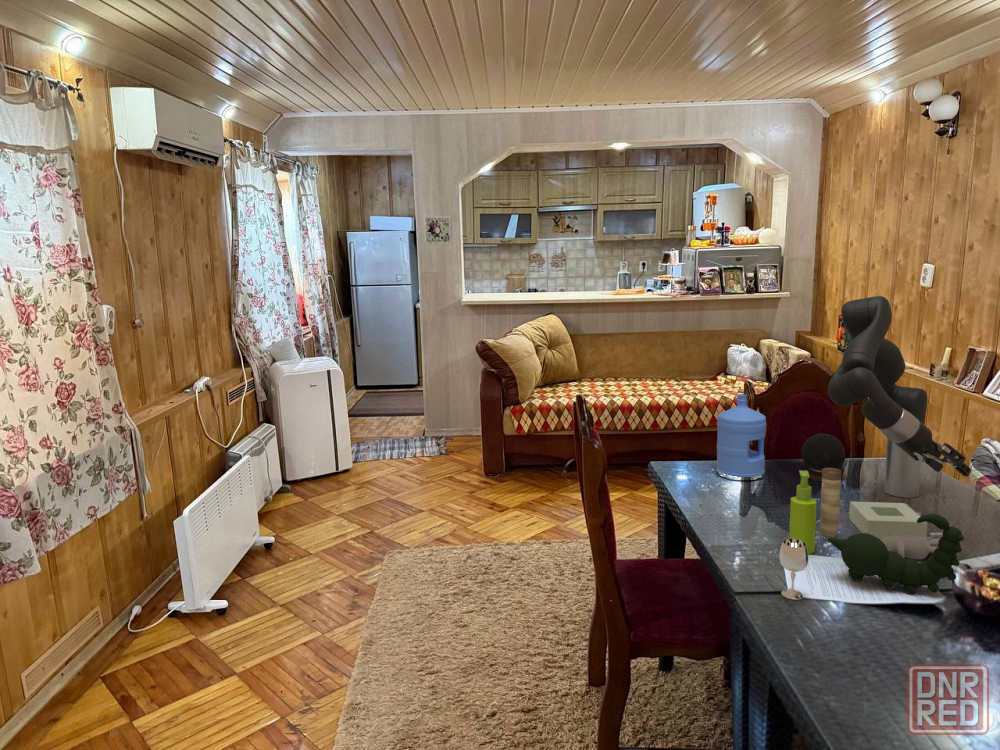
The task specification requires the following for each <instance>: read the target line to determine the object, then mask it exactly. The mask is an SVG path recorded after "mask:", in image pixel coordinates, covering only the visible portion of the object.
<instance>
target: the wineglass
mask: <svg viewBox="0 0 1000 750" xmlns="http://www.w3.org/2000/svg"><path fill="white" fill-rule="evenodd" d="M778 558H779V563H780V565H781V567H783V568H784V569H786V570H787V571H789V572H790V579H791V587H790V588H789V589H787V588H786V589H783V590H782V591H781V593H780V594H781V595H782V596H783V597H784V598H787V599H789V600H794V601H795V600H802V599H803V598H804V593H802V592H800V591H798V590H796V589H795V579H796V575H797V574H796V573H799V572H801V571H804V570H805V569H806V568H807V567H808V565H809V554H808V550H807V546H806V543H805V542H803V541H801V540H798V539H789V538H785V539H783V540H782V543H781V546H780V548H779V557H778Z"/></svg>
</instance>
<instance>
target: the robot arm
mask: <svg viewBox="0 0 1000 750" xmlns="http://www.w3.org/2000/svg"><path fill="white" fill-rule="evenodd" d="M840 314H841V318H842V323H843V325H844V327H845V329H846V331H847V333H848V335H849V336H850V337H851V338H852V340H850V342H849V343H848V344H847V345H846V347H845V349H844V352H843V354H842V359H841V364H840V365H839V366H838V368H837V369H836V370H835V371H834V373H833V375H832V377H831V378H830V380H829V382H828V386H827V389H828V395H829V398H830V399H831V401H832V402H833V403H834V404H835V405H838V406H840V407H849V406H852V405H854V404H855V403H858V402H859V401H862V400H863V399H865V398H868V399H867V400H866V401H865V402H864V403H863V405H862V407H861V414H862V415H863V417H865V419H866V420H868V421H869V422H870V423H871V424H872V425H873V426H875V427H876V428H877V429H878V430H879V431H880V432H881V433H882V434H883V435H884V436H886V438H887V439H886V453H885V454H886V455H885V456H886V457H885V470H884V472H885V473H884V486H883V487H884V488H883V492H884V493H885V494H888V495H890V496H894V497H897V498H904V499H905V498H906V499H907V498H908V499H911V498H917V497H919V495H920V484H921V470H922V463H923V464H926V465H927V466H928V467H930V469H932V470H933V471H934V472H937V473H940V472H941V470H942V469H943V468H944V465H943V464H946V465H949V466H950V467H952V468H953V469H955V471H956V472H958V473H959V474H960V475H962V477H967V478H968V477H969V475H970V474H971V473H972V468H971V467H969V466H968V464H966V463H964V462H965V461H966V460H967V457H966V456H965V455H963V454H961V452H959V451H958V450H957V449H955V448H954V447H953V446H951V444H949V443H947V442H944V443H943V444H942V445H941V444H940V443H939V442H937V441H935V440H933V431H932V430H931V429H930V428H929V427H928V426H926V425H925V424H926V416H927V409H928V408H927V407H928V399H929V398H928V393H927V392H926V389H923V388H918V387H911V386H910V387H908V386H900V385H897V384H896V383H897V382H898V381H899V380H900V379H901V378H902V376H904V375H903V374H904V373H905V371H906V362H905V359H904V357H903V354H902V352H901V350H900V348H899V347H898V345H896V344H895V343H894V342H892V341H891V340H889V339H887V338H885V337H886V335H887V333H888V332H889V329H890V327H891V325H892V319H893V318H892V317H893V314H892V307H891V304H890V302H889V300H888V298H886V296H881V295H877V296H876V295H874V296H869V297H864V298H863V297H862V298H858V299H857V298H856V299H852V300H850V301H847V302H845V303H844V304H843V305H842V308H841V313H840ZM941 456H942V458H941Z"/></svg>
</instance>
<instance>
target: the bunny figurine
mask: <svg viewBox="0 0 1000 750" xmlns="http://www.w3.org/2000/svg"><path fill="white" fill-rule="evenodd" d="M940 538H941V537H940ZM940 538H939V537H938V538H932V539H927V538H926V539H925V538H923V537H922V536H920V535H919V534H915V533H907V534H903V535H901V536H898V535H891V536H889V535H887V536H883V537H881V538H879V539H880V540H881V541H882V542H883V543H884V544H885V545H886V547H887V549H888V551H892V552H896V553H898V554H900V555H901V556H902V557H903V558H904V559H906V558H907V559H911V560H924V559H925V558H927V557H928V555H929V553H933V552H934V550H935V549H936V548H938V541H939V539H940Z"/></svg>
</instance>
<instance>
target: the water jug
mask: <svg viewBox="0 0 1000 750" xmlns="http://www.w3.org/2000/svg"><path fill="white" fill-rule="evenodd" d="M736 396H737V399H736V406H734V407H731V408H729V409H727V410H724V411H722V412H719V413H718V415H717V420H716V421H717V422H716V427H717V438H716V439H717V441H716V456H717V457H716V466H715V467H716V468H717V469H718V470H719V471H721V472H723V473H725V474H728V475H732V476H737V477H755V476H759V475H762V474H764V473H765V474H766V469H765V461H766V460H765V459H766V458H765V457H766V455H765V454H764V452H765V451H764V450H765V449H764V448H765V446H764V445H765V437H766V429H767V419H766V418H767V417H766V416H765V415H764V414H763V413H760V412H759V411H756V410H754V409H753V408H750V407H748V400H747V399H748V398H747V397H748V394H744V393H742V394H741V393H738V394H737V395H736ZM751 441H757V443H758V445H757V450H753V449H751V448H750V446H751V445H750V442H751Z"/></svg>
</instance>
